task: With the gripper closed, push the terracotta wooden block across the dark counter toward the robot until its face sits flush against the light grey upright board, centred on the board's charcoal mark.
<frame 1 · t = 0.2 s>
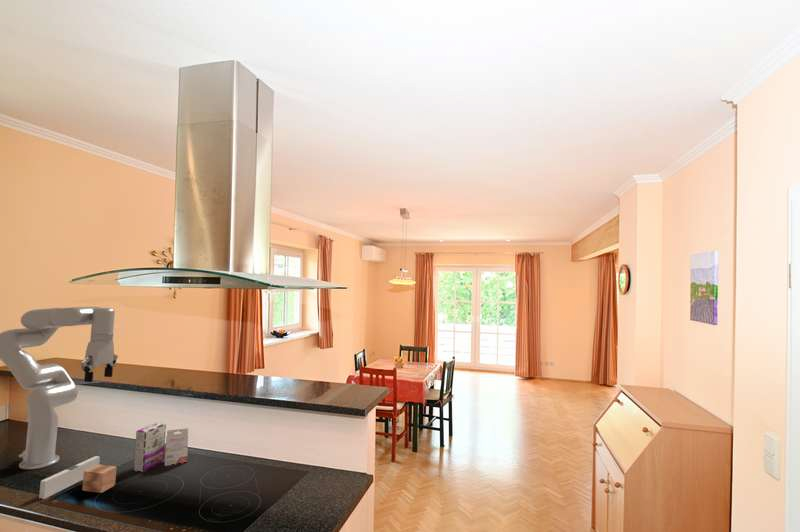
hand: (98, 379, 168), 37 cm above the table, tool pointing down, fingers open, 9 cm apart
candy bar box: (148, 466, 171), on the table
terracotta block: (98, 488, 152), on the table
ink cartridge box: (175, 462, 176), on the table
grey board: (70, 484, 153), on the table
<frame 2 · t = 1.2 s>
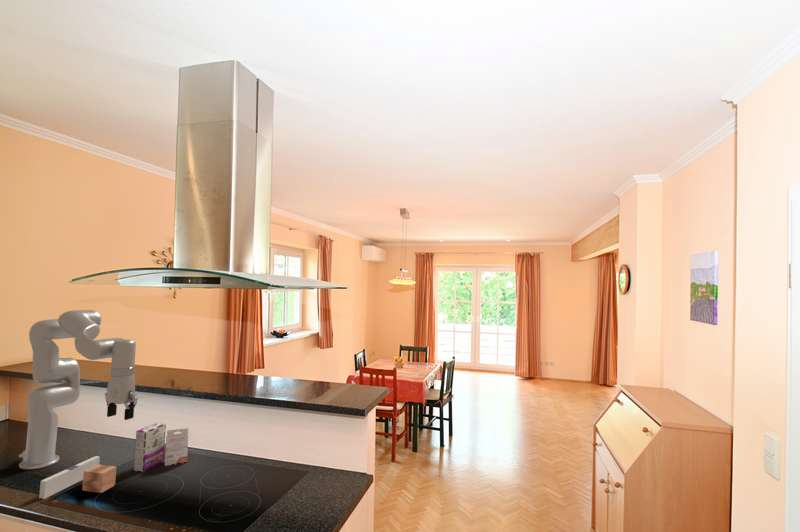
hand: (120, 417, 155), 25 cm above the table, tool pointing down, fingers open, 9 cm apart
nothing on the table moved.
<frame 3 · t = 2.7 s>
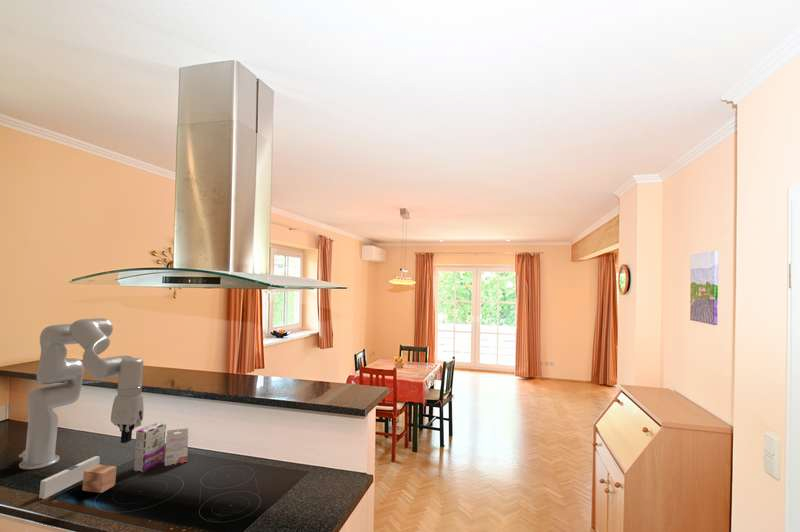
hand: (126, 441, 151), 18 cm above the table, tool pointing down, fingers closed
nothing on the table moved.
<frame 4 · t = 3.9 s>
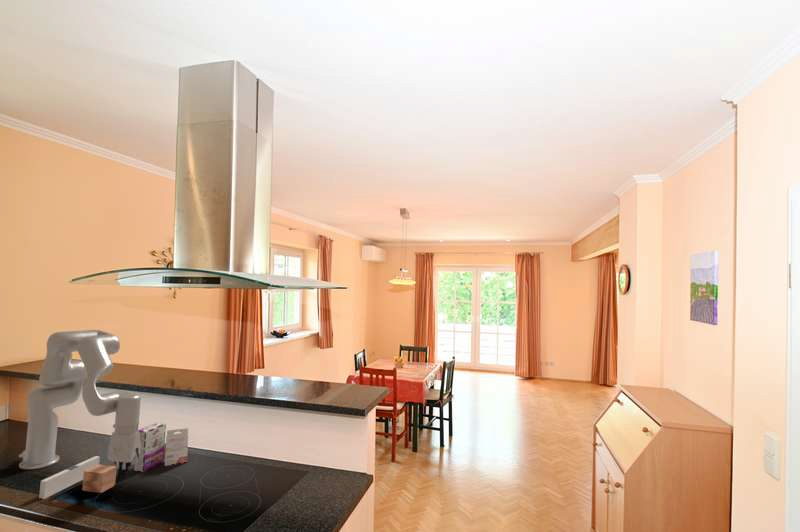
hand: (122, 478, 151), 4 cm above the table, tool pointing down, fingers closed
nothing on the table moved.
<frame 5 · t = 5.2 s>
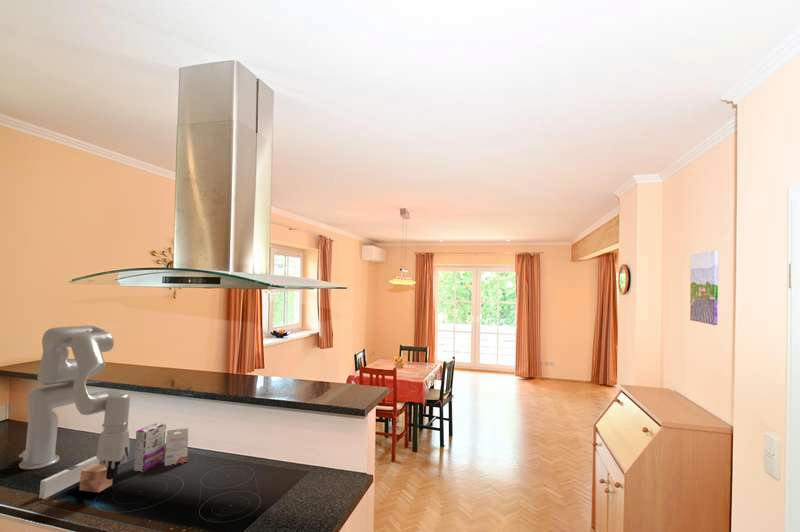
hand: (111, 477, 151), 4 cm above the table, tool pointing down, fingers closed
terracotta block: (96, 487, 152), on the table, touching gripper
everything else where it was.
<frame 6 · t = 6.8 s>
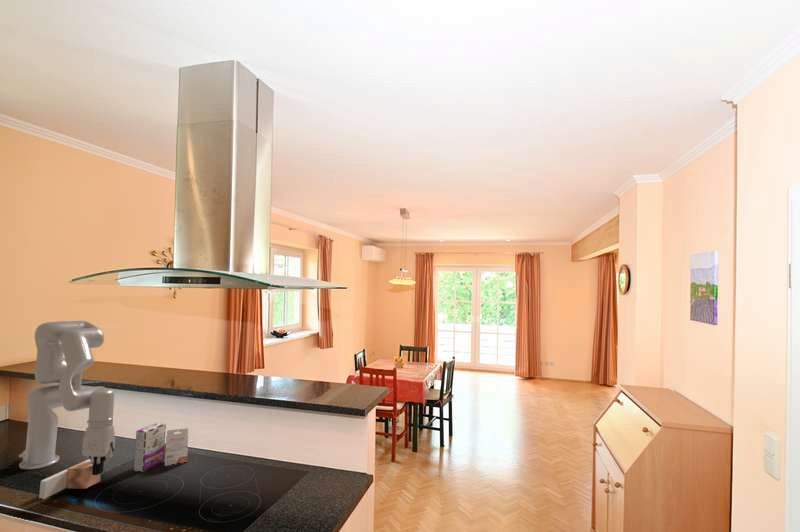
hand: (97, 473, 152), 5 cm above the table, tool pointing down, fingers closed
terracotta block: (84, 484, 152), on the table, tilted 7°, touching grey board, gripper
everything else where it was.
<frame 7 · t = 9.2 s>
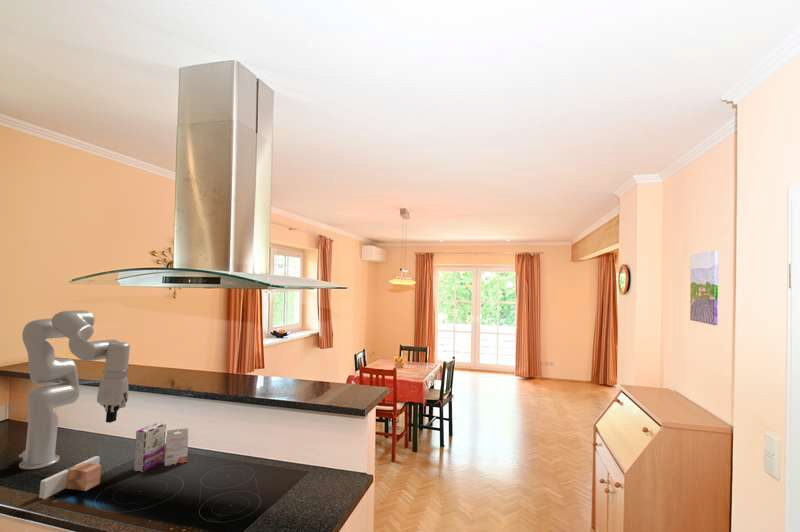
hand: (110, 421, 158), 23 cm above the table, tool pointing down, fingers closed
terracotta block: (83, 486, 153), on the table
everything else where it was.
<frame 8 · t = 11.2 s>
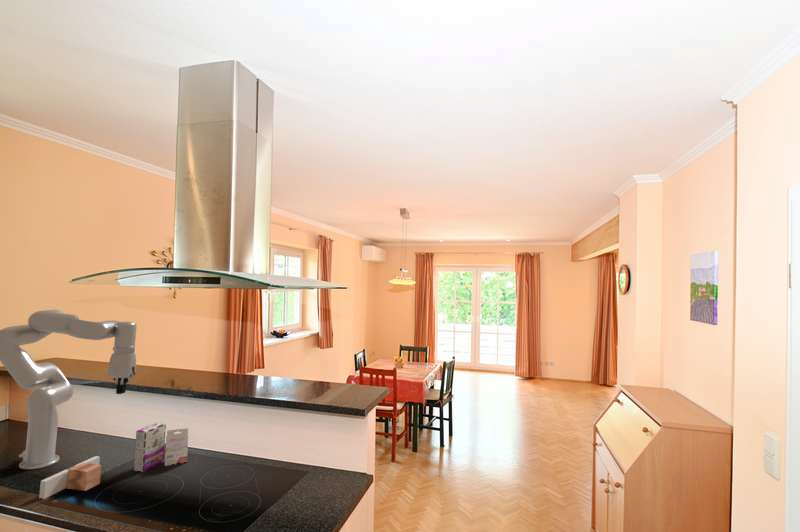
hand: (120, 393, 175), 29 cm above the table, tool pointing down, fingers closed
nothing on the table moved.
at the end: terracotta block 0.2 cm from the target spot on the table beside the grey board, on the table; terracotta block tilted 0° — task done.
